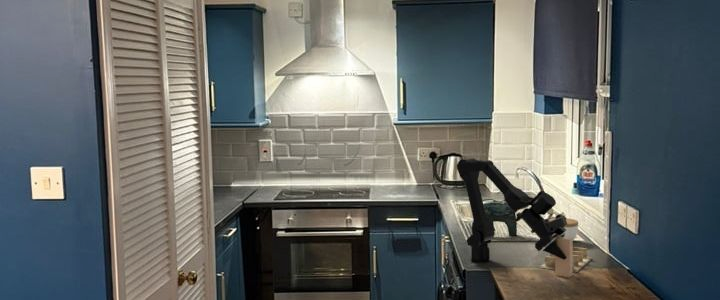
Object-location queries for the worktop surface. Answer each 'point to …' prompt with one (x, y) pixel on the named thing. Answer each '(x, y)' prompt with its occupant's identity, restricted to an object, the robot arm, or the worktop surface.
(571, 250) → the tan rectangular block
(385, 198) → the worktop surface
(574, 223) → the lidded bowl
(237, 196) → the worktop surface
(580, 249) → the drying rack
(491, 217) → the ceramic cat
